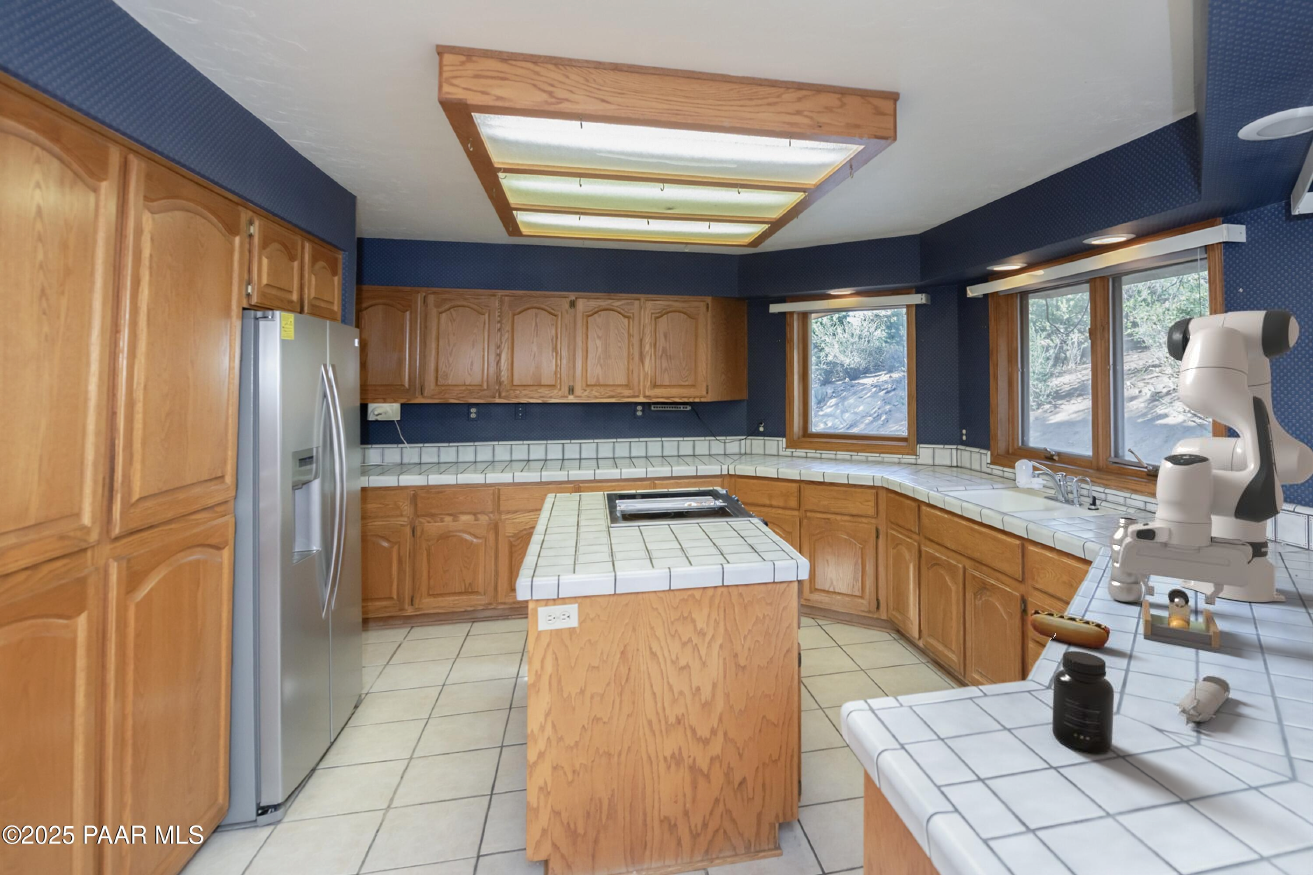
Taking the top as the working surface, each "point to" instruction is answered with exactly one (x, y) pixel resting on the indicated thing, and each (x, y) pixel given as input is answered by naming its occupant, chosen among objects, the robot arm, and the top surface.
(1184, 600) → the glass stem black base
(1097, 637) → the hot dog
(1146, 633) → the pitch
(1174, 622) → the ball
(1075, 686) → the supplement bottle
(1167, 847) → the top surface
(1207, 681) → the torpedo
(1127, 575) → the plastic bottle
